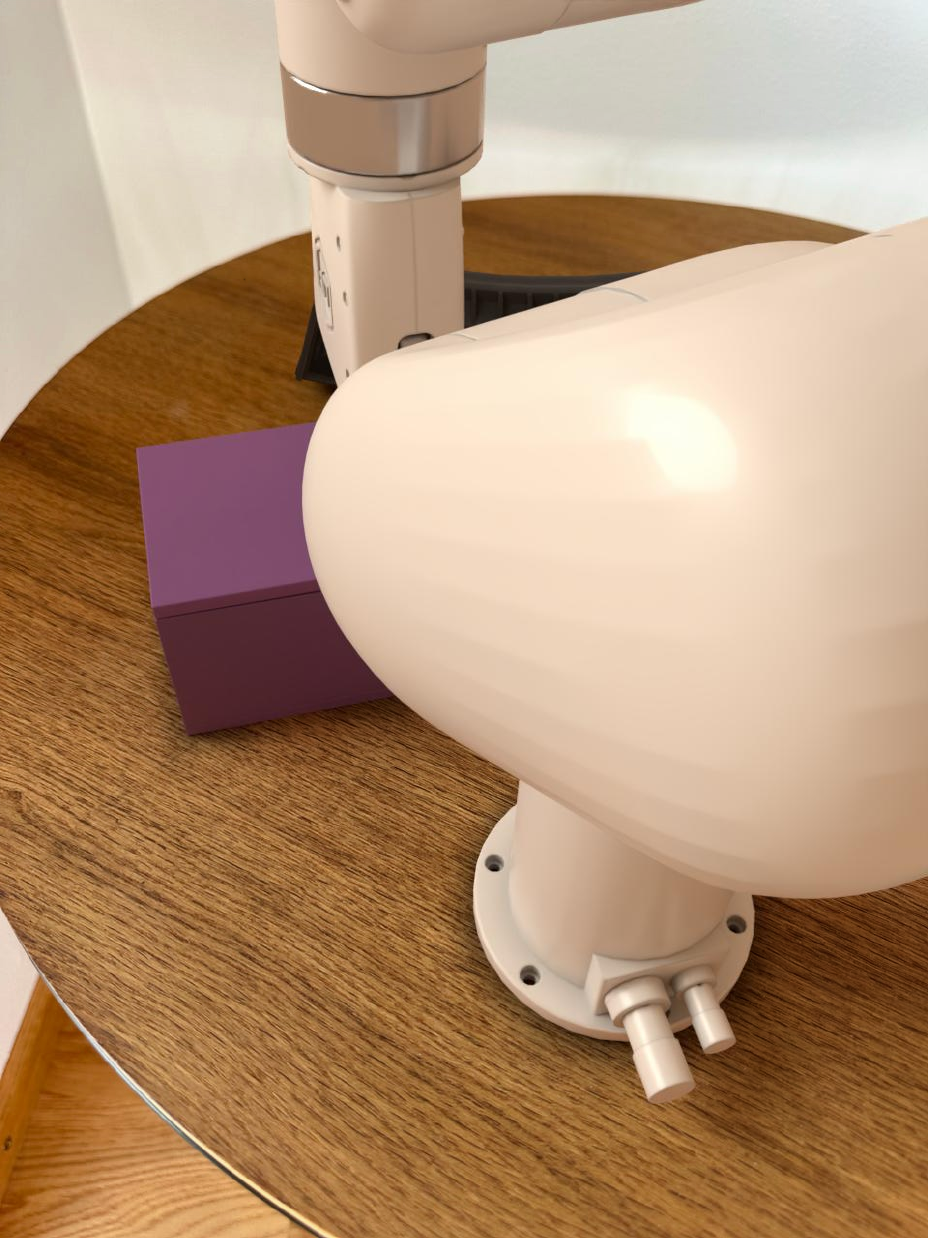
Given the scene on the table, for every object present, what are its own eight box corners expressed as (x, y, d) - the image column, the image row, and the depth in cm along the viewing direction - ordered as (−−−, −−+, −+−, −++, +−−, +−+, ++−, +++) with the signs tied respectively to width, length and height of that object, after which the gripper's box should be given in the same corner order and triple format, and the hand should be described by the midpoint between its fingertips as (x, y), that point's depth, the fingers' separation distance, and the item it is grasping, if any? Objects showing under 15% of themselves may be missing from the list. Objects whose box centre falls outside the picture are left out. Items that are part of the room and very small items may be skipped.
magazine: (244, 276, 68) (729, 168, 61) (255, 250, 70) (725, 143, 63) (338, 481, 80) (753, 412, 72) (345, 453, 82) (748, 384, 75)
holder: (398, 541, 65) (394, 424, 59) (444, 687, 58) (447, 570, 51) (169, 578, 63) (139, 460, 56) (186, 736, 55) (154, 620, 49)
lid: (409, 419, 59) (407, 340, 55) (463, 565, 51) (465, 485, 47) (138, 459, 56) (117, 379, 52) (154, 619, 49) (131, 539, 45)
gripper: (254, 31, 45) (294, 390, 59) (325, 228, 34) (353, 615, 48) (428, 19, 47) (428, 373, 60) (550, 205, 36) (516, 586, 49)
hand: (395, 477), depth 54 cm, fingers closed on lid, 5 cm apart
